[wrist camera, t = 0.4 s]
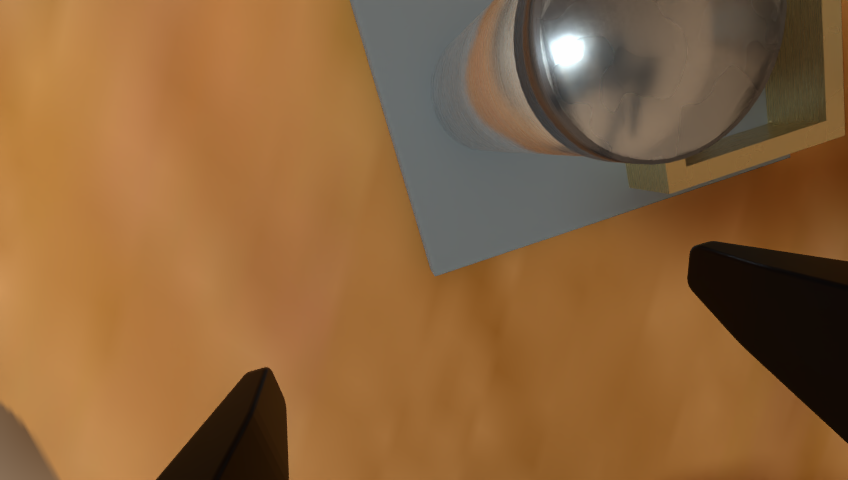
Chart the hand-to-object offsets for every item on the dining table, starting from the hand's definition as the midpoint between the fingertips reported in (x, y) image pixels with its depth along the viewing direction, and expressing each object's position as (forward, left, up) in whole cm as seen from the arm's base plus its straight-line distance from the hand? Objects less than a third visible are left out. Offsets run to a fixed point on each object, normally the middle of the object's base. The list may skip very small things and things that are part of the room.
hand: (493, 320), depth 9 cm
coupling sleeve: (+5, -5, -13) cm, 15 cm away
